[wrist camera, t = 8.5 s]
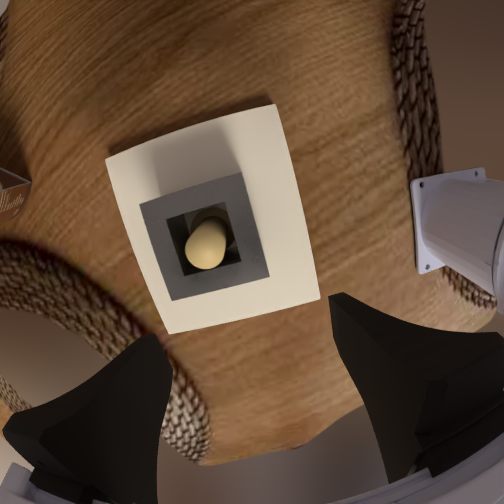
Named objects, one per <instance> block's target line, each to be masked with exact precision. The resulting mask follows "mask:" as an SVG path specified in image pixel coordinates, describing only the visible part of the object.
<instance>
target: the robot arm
mask: <svg viewBox="0 0 504 504" xmlns="http://www.w3.org/2000/svg"><path fill="white" fill-rule="evenodd" d="M420 182H421V183H422V186H421V187H420ZM410 189H411V197H412V205H413V215H414V226H415V240H416V264H417V272H418V273H420V274H424V273H427V272H429V271H432V270H435V269H437V268H440V267H442V266H445V265H447V266H449V267H451V268H452V269H454V270H455V271H457V272H459V273H460V274H462V275H463V276H465V277H466V278H468V279H469V280H471V281H473V282H474V283H476V284H477V285H479V286H480V287H482V288H483V289H485V290H486V291H487V292H489V293H490V294H492V295H493V296H495V297H496V298H497V299H498V304H497V310H498V311H499V312H500V313H501V314H503V315H504V182H503V181H497V180H492V179H487V178H486V176H485V170H484V168H483V167H476V168H471V169H465V170H460V171H454V172H449V173H443V174H438V175H433V176H428V177H423V178H418V179H414V180H412V181H411V183H410ZM426 265H427V267H426ZM425 267H426V268H425ZM328 298H329V306H330V313H331V321H332V330H333V338H334V341H335V343H336V346H337V349H338V351H339V354H340V357H341V359H342V361H343V363H344V365H345V366H346V368H347V370H348V372H349V374H350V376H351V378H352V380H353V382H354V384H355V385H356V387H357V389H358V391H359V393H360V395H361V397H362V399H363V402H364V404H365V406H366V409H367V411H368V414H369V417H370V420H371V423H372V426H373V429H374V432H375V435H376V438H377V441H378V445H379V448H380V452H381V455H382V459H383V462H384V466H385V470H386V474H387V478H388V482H389V485H386V486H383V487H381V488H378V489H375V490H372V491H369V492H367V493H363V494H360V495H357V496H354V497H350V498H347V499H343V500H340V501H336V502H332V503H328V504H495V503H496V502H498V501H499V500H500V499H501V498H503V497H504V391H503V388H504V338H503V337H502V336H501V335H500V334H499V333H497V332H484V333H483V332H482V333H467V332H453V331H445V330H439V329H434V328H428V327H424V326H420V325H416V324H413V323H410V322H406V321H403V320H400V319H397V318H395V317H393V316H390V315H388V314H385V313H383V312H381V311H379V310H376V309H374V308H372V307H370V306H368V305H366V304H364V303H363V302H361V301H359V300H357V299H355V298H353V297H351V296H350V295H348V294H346V293H344V292H342V293H338V294H334V295H331V296H328ZM172 377H173V368H172V366H171V365H170V363H169V361H168V359H167V357H166V355H165V353H164V351H163V349H162V347H161V345H160V343H159V341H158V339H157V337H156V335H155V334H149V335H143V336H141V337H140V338H138V339H137V340H136V341H134V342H133V343H132V344H131V345H129V346H128V347H127V348H126V349H125V350H124V351H123V352H121V353H120V354H119V355H118V356H117V357H116V358H114V359H113V360H112V361H111V362H110V363H109V364H107V365H106V366H105V367H104V368H102V369H101V370H100V371H99V372H97V373H96V374H95V375H94V376H92V377H91V378H90V379H88V380H87V381H86V382H84V383H82V384H81V385H79V386H78V387H76V388H74V389H73V390H71V391H69V392H67V393H66V394H64V395H62V396H60V397H58V398H56V399H54V400H52V401H49V402H47V403H45V404H42V405H40V406H37V407H34V408H31V409H27V410H24V411H20V412H16V413H14V414H13V415H12V416H11V417H10V419H9V420H8V422H7V423H6V425H5V426H4V428H3V429H2V431H3V435H4V437H5V438H6V440H7V441H8V442H9V444H10V445H11V446H12V447H13V448H14V449H15V450H16V451H17V452H18V453H19V454H20V455H21V456H22V457H23V458H24V459H25V460H27V461H28V462H29V463H30V464H31V465H32V466H33V467H35V468H34V470H33V472H31V471H30V470H28V469H26V468H25V467H22V466H20V465H18V464H16V463H12V464H11V466H10V468H9V470H8V472H7V473H6V475H5V477H4V480H3V482H2V484H1V486H0V504H158V500H157V455H158V445H159V437H160V432H161V427H162V423H163V419H164V415H165V412H166V408H167V404H168V400H169V396H170V392H171V386H172Z"/></svg>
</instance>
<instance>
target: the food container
mask: <svg viewBox="0 0 504 504" xmlns="http://www.w3.org/2000/svg"><path fill="white" fill-rule="evenodd" d="M31 186H32V182H31V181H28V180H26V179H24V178H22V177H20V176H18V175H16V174H14V173H11V172H9V171H7V170H5V169H3V168H1V167H0V225H1V224H3V223H5V222H7V221H9V220H11V219H13V218H14V217H16V216H17V215H18V214H19V213H20V212H21V210H22V209H23V207H24V205H25V203H26V201H27V199H28V196H29V193H30V190H31Z"/></svg>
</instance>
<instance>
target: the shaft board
mask: <svg viewBox="0 0 504 504" xmlns="http://www.w3.org/2000/svg"><path fill="white" fill-rule="evenodd" d="M105 161H106V165H107V169H108V172H109V176H110V180H111V183H112V187H113V190H114V193H115V197H116V200H117V203H118V206H119V209H120V213H121V216H122V219H123V222H124V225H125V228H126V231H127V233H128V236H129V239H130V242H131V245H132V247H133V250H134V253H135V256H136V258H137V261H138V263H139V266H140V269H141V271H142V274H143V276H144V279H145V281H146V283H147V286H148V288H149V291H150V293H151V295H152V298H153V300H154V302H155V305H156V307H157V309H158V311H159V314H160V316H161V318H162V320H163V322H164V325H165V327H166V329H167V331H168V333H169V334H173V333H179V332H184V331H189V330H194V329H199V328H204V327H209V326H213V325H218V324H223V323H227V322H232V321H236V320H240V319H245V318H249V317H253V316H257V315H261V314H265V313H269V312H273V311H277V310H281V309H285V308H289V307H293V306H296V305H300V304H304V303H308V302H311V301H315V300H318V299H320V293H319V287H318V282H317V276H316V271H315V266H314V261H313V256H312V250H311V246H310V241H309V236H308V231H307V226H306V222H305V217H304V213H303V208H302V204H301V199H300V195H299V191H298V187H297V182H296V178H295V174H294V170H293V166H292V162H291V158H290V154H289V151H288V147H287V143H286V139H285V135H284V132H283V128H282V125H281V121H280V117H279V114H278V110H277V107H276V104H272V105H268V106H263V107H259V108H254V109H250V110H246V111H242V112H238V113H234V114H230V115H226V116H223V117H219V118H216V119H212V120H209V121H206V122H202V123H199V124H196V125H193V126H190V127H186V128H183V129H180V130H178V131H175V132H172V133H169V134H166V135H163V136H161V137H158V138H155V139H153V140H150V141H147V142H145V143H142V144H140V145H137V146H135V147H132V148H130V149H128V150H125V151H123V152H121V153H118V154H116V155H114V156H112V157H109V158H107V159H105ZM240 172H242V173H243V176H244V179H245V183H246V187H247V190H248V194H249V198H250V201H251V205H252V209H253V212H254V216H255V220H256V223H257V227H258V231H259V234H260V238H261V242H262V246H263V249H264V253H265V257H266V261H267V266H268V270H269V275H270V277H268V278H264V279H260V280H257V281H253V282H249V283H245V284H241V285H237V286H233V287H229V288H225V289H221V290H217V291H213V292H209V293H205V294H200V295H196V296H192V297H188V298H184V299H179V300H175V301H172V300H171V298H170V295H169V293H168V290H167V287H166V285H165V282H164V279H163V276H162V274H161V271H160V268H159V265H158V262H157V259H156V257H155V254H154V251H153V248H152V245H151V242H150V239H149V235H148V232H147V229H146V226H145V223H144V219H143V216H142V213H141V209H140V206H139V204H141V203H144V202H147V201H150V200H152V199H155V198H158V197H161V196H164V195H167V194H170V193H173V192H176V191H179V190H182V189H185V188H189V187H192V186H195V185H198V184H201V183H205V182H208V181H211V180H215V179H218V178H222V177H225V176H229V175H232V174H236V173H240ZM184 216H185V220H186V223H187V226H188V230H189V233H190V238H189V239H188V241H187V243H186V247H185V252H186V256H187V258H188V260H189V261H190V262H191V263H192V264H193V265H194V266H196V267H198V268H201V269H210V268H213V267H215V266H217V265H218V264H219V263H220V262H221V261H222V259H223V256H224V252H225V249H229V248H233V247H236V246H237V243H236V240H235V236H234V233H233V229H232V226H231V222H230V219H229V215H228V212H227V208H226V205H225V202H221V203H218V204H214V205H211V206H207V207H204V208H201V209H197V210H194V211H191V212H187V213H184Z"/></svg>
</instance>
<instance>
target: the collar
mask: <svg viewBox="0 0 504 504" xmlns="http://www.w3.org/2000/svg"><path fill="white" fill-rule="evenodd" d="M221 202H225V205H226V208H227V212H228V215H229V219H230V222H231V226H232V229H233V233H234V236H235V240H236V243H237V246H236V247H233V248H229V249H225V252H224V256H223V259H222V261H221V262H220V263H219V264H218V265H217V266H215V267H213V268H210V269H201V268H198V267H196V266H194V265H193V264H192V263H191V262H190V261H189V260H188V258H187V256H186V252H185V247H186V243H187V241H188V239H189V238H190V233H189V230H188V226H187V223H186V220H185V216H184V213H187V212H191V211H194V210H197V209H201V208H204V207H207V206H211V205H214V204H218V203H221ZM139 206H140V209H141V213H142V216H143V219H144V223H145V226H146V229H147V232H148V235H149V239H150V242H151V245H152V248H153V251H154V254H155V257H156V259H157V262H158V265H159V268H160V271H161V274H162V276H163V279H164V282H165V285H166V287H167V290H168V293H169V295H170V298H171V300H172V301H175V300H179V299H184V298H188V297H192V296H196V295H200V294H205V293H209V292H213V291H217V290H221V289H225V288H229V287H233V286H237V285H241V284H245V283H249V282H253V281H257V280H260V279H264V278H268V277H270V275H269V270H268V266H267V261H266V257H265V253H264V249H263V246H262V242H261V238H260V234H259V231H258V227H257V223H256V220H255V216H254V212H253V209H252V205H251V201H250V198H249V194H248V190H247V187H246V183H245V179H244V176H243V173H242V172H240V173H236V174H232V175H229V176H225V177H222V178H218V179H215V180H211V181H208V182H205V183H201V184H198V185H195V186H192V187H189V188H185V189H182V190H179V191H176V192H173V193H170V194H167V195H164V196H161V197H158V198H155V199H152V200H150V201H147V202H144V203H141V204H139Z"/></svg>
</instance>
